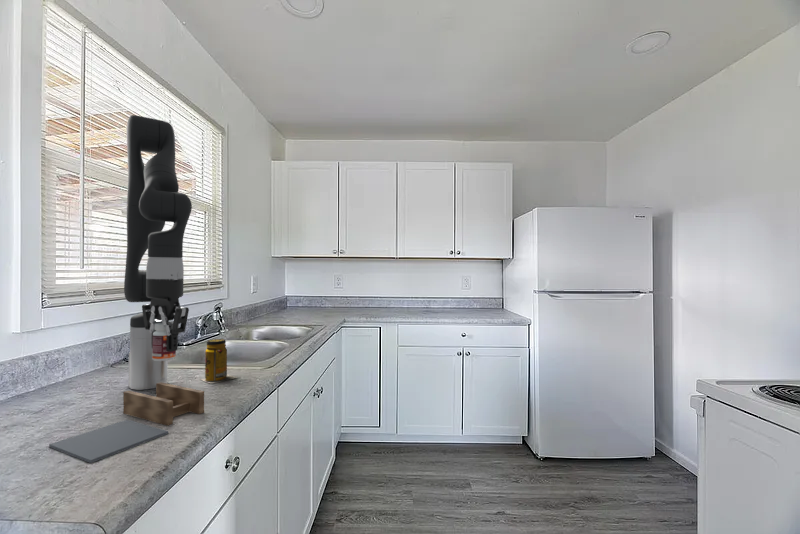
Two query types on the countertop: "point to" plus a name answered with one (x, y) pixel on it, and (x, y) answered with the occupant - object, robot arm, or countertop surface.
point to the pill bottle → (161, 344)
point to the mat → (107, 440)
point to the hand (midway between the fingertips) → (164, 349)
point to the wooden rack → (163, 403)
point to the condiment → (216, 362)
